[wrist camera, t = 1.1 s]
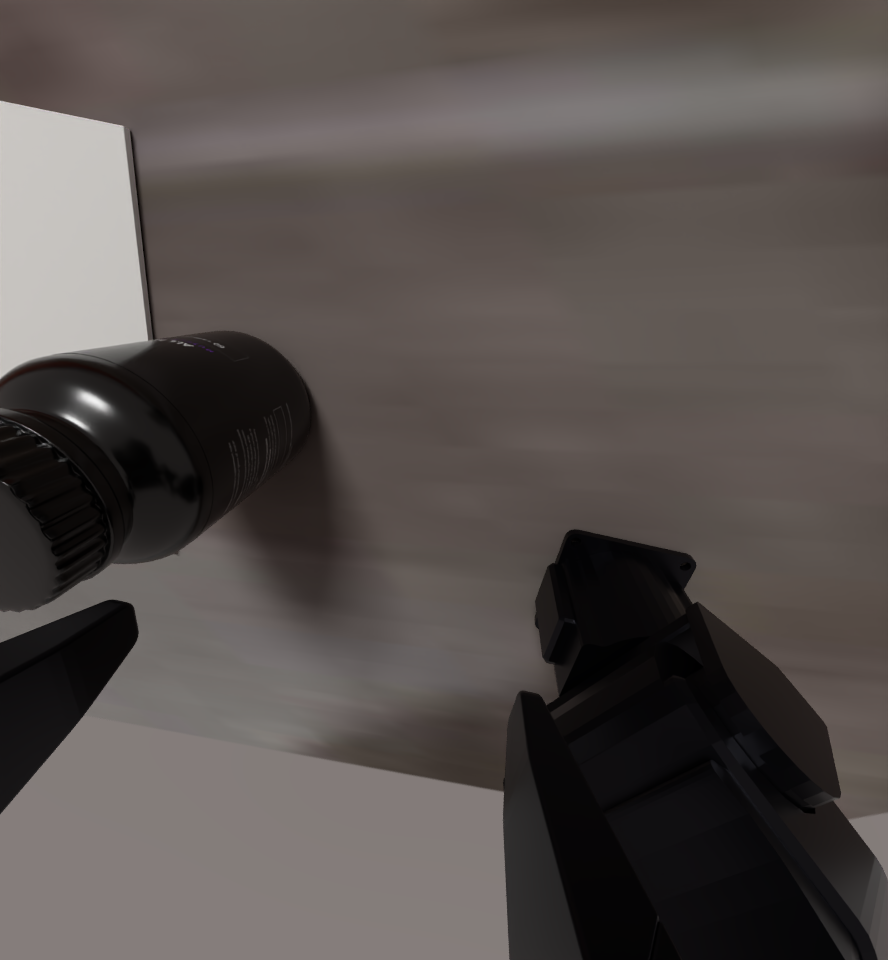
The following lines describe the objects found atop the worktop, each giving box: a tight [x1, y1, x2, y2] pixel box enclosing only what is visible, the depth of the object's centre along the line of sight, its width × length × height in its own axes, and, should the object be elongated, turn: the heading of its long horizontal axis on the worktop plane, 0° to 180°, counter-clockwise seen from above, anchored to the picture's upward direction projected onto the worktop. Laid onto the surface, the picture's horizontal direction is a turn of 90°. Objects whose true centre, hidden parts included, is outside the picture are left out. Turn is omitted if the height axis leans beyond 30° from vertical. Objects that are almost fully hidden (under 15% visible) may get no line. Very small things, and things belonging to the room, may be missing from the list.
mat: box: [0, 101, 153, 378], centre depth 20 cm, size 14×20×1 cm
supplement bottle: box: [0, 331, 311, 612], centre depth 15 cm, size 7×7×12 cm
